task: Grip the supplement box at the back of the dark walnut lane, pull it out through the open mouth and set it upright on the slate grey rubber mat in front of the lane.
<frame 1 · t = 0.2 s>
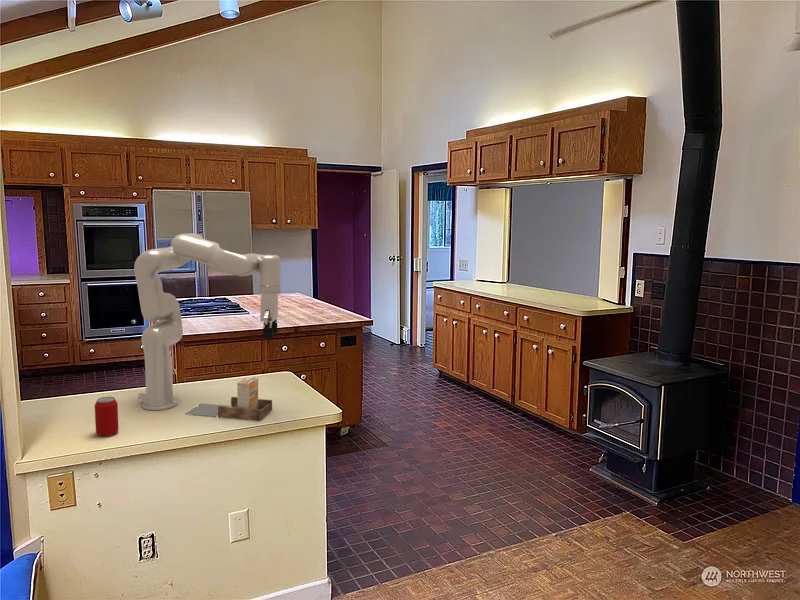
hand: (270, 335, 213), 30 cm above the countertop, tool pointing down, fingers open, 9 cm apart
supplement box: (248, 414, 218), resting in walnut lane
beverage can: (107, 434, 195), on the countertop
walnut lane: (245, 413, 218), on the countertop
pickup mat: (207, 410, 220), on the countertop
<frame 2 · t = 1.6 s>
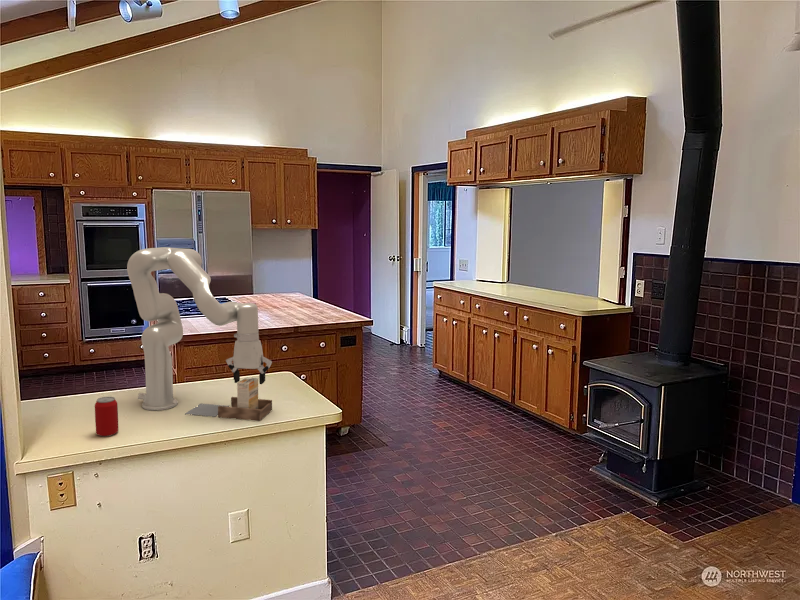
hand: (249, 382, 216), 12 cm above the countertop, tool pointing down, fingers open, 9 cm apart
nothing on the countertop moved.
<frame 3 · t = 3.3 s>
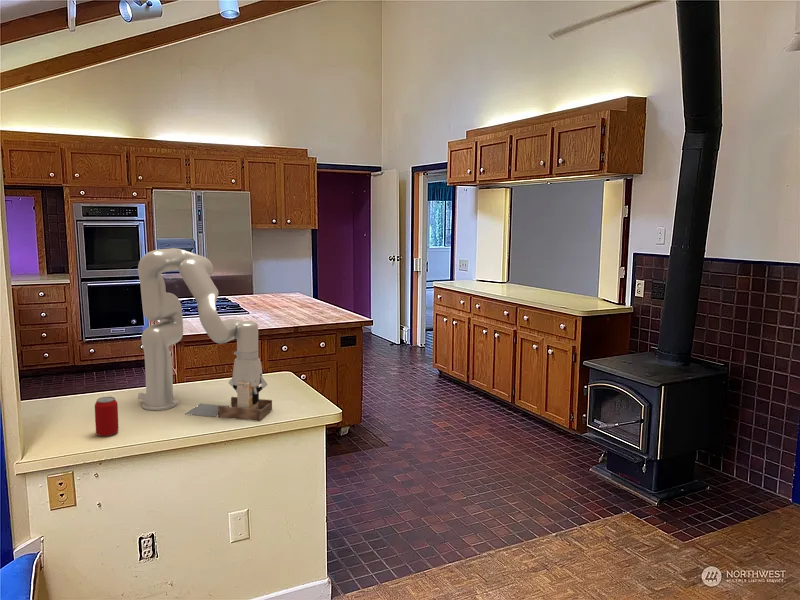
hand: (248, 402, 217), 4 cm above the countertop, tool pointing down, fingers closed on supplement box, 4 cm apart
supplement box: (248, 414, 218), resting in walnut lane, touching gripper
everything else where it was.
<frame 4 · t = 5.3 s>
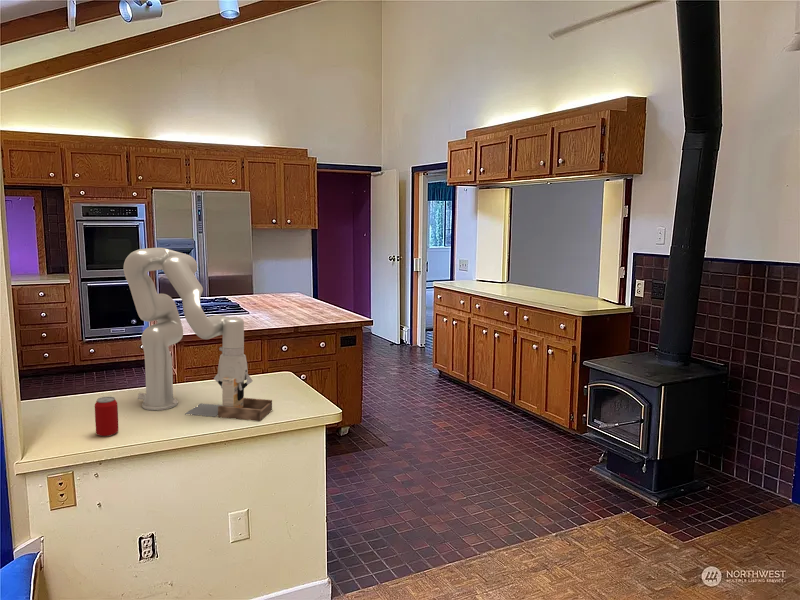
hand: (233, 398, 218), 6 cm above the countertop, tool pointing down, fingers closed on supplement box, 4 cm apart
supplement box: (233, 410, 219), point 1 cm above the countertop, touching gripper
everything else where it was.
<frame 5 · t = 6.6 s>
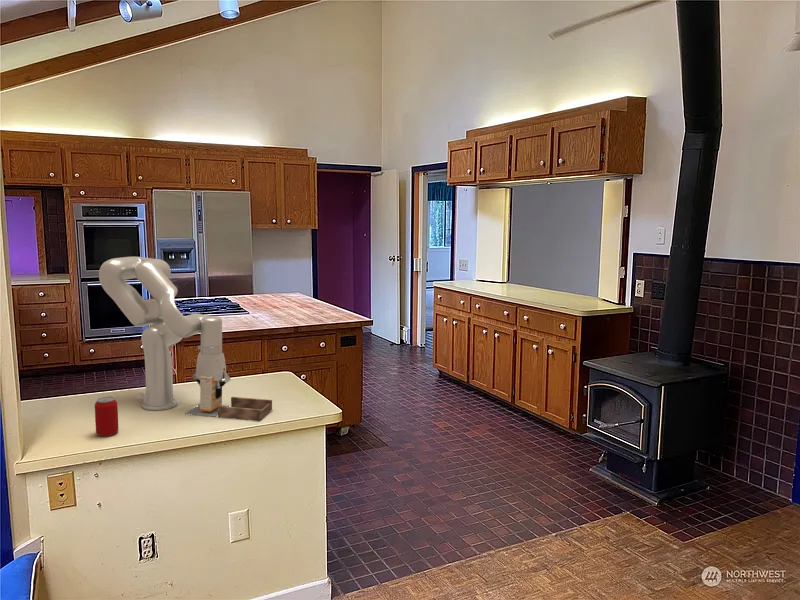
hand: (211, 396, 219), 6 cm above the countertop, tool pointing down, fingers closed on supplement box, 4 cm apart
supplement box: (211, 408, 220), point 1 cm above the countertop, touching gripper
everything else where it was.
when the fingers open (5 cm above the countertop, at t = 7.7 s): supplement box stays where it is, resting on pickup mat.
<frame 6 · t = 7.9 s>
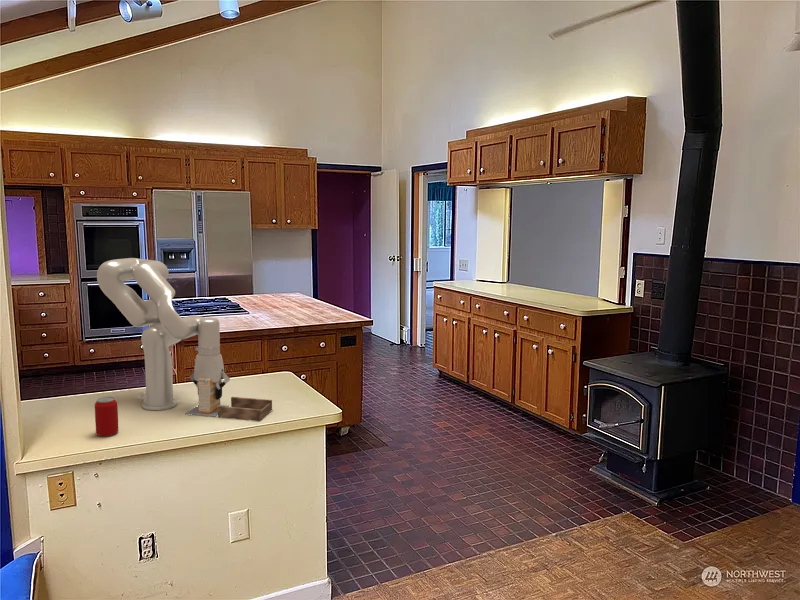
hand: (210, 397, 219), 5 cm above the countertop, tool pointing down, fingers open, 6 cm apart
supplement box: (210, 410, 220), resting on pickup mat
everything else where it was.
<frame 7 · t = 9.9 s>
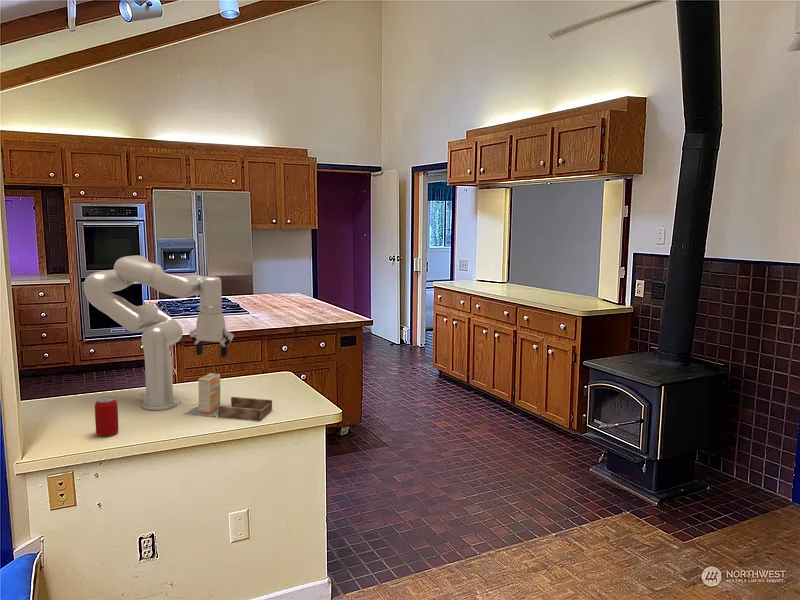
hand: (211, 355, 218), 21 cm above the countertop, tool pointing down, fingers open, 9 cm apart
nothing on the countertop moved.
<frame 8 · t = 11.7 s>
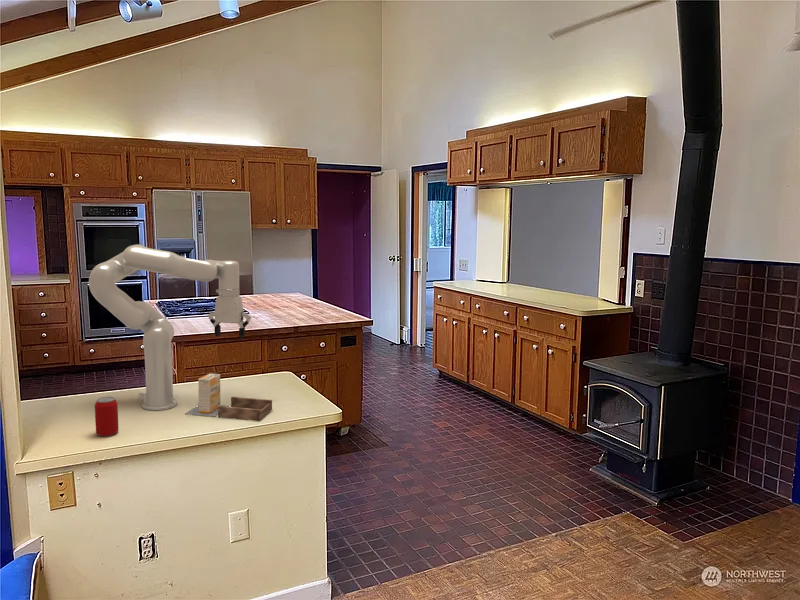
hand: (229, 336, 226), 26 cm above the countertop, tool pointing down, fingers open, 9 cm apart
nothing on the countertop moved.
at the end: supplement box inside the target area (0.4 cm from its centre), resting on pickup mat; supplement box tilted 0°; the gripper is holding nothing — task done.
